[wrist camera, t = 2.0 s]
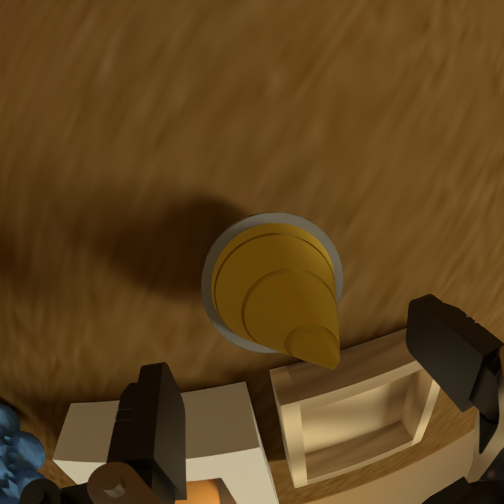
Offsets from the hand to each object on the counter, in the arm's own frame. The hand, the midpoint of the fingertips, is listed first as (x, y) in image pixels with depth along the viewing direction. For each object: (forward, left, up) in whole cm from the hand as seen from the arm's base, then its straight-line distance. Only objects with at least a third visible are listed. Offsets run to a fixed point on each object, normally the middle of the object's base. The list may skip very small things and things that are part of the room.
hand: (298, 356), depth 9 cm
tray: (+12, +5, -6) cm, 14 cm away
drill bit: (0, 0, -7) cm, 7 cm away
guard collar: (+13, -8, -7) cm, 16 cm away
